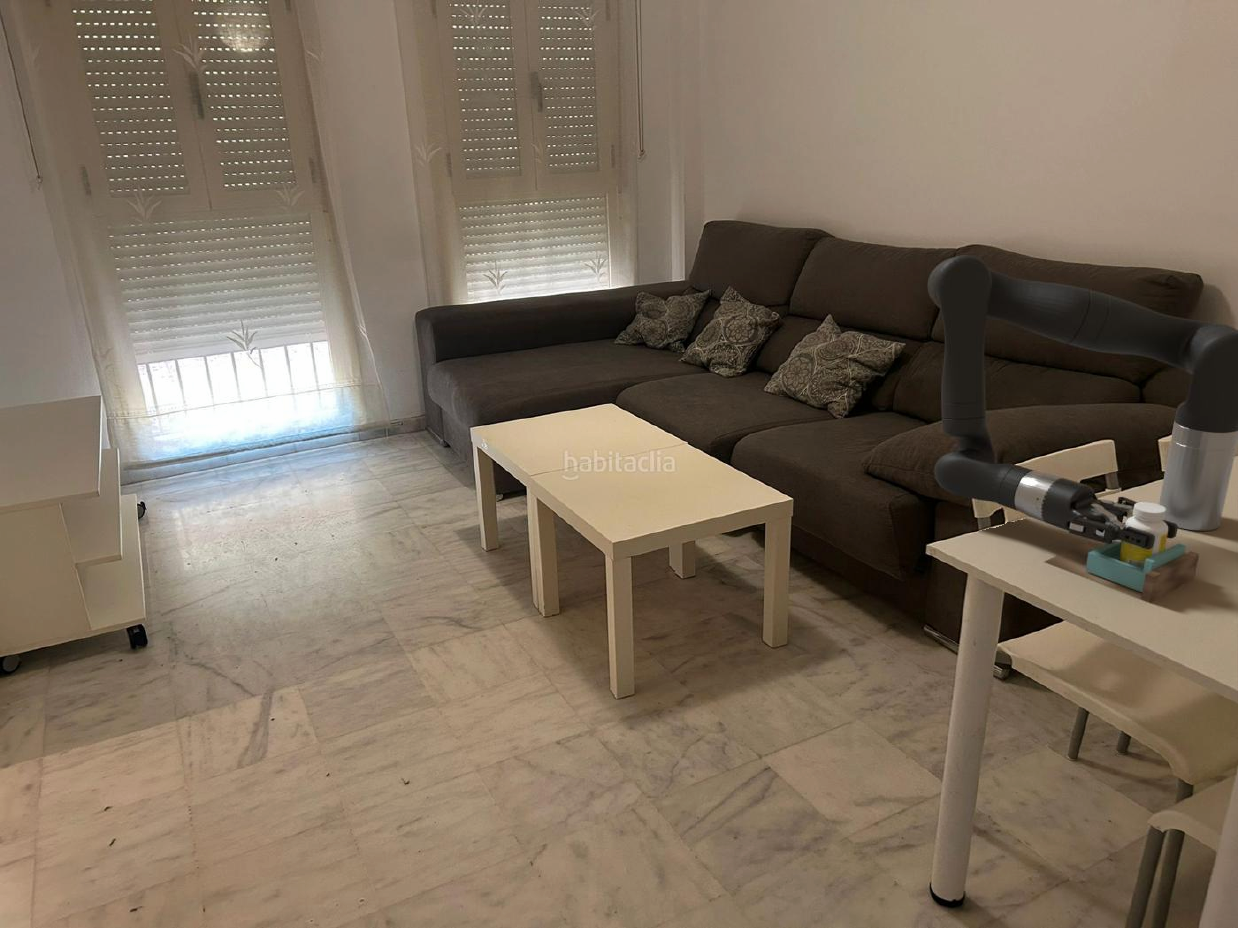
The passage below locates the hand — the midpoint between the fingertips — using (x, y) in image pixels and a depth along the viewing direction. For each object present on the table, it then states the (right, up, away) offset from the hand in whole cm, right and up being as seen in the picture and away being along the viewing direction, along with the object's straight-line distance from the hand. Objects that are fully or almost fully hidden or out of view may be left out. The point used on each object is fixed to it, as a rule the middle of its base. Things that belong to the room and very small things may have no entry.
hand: (1164, 537), depth 127 cm
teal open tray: (-2, -6, +5) cm, 8 cm away
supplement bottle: (-1, -5, +4) cm, 7 cm away
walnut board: (-3, -7, +8) cm, 11 cm away
